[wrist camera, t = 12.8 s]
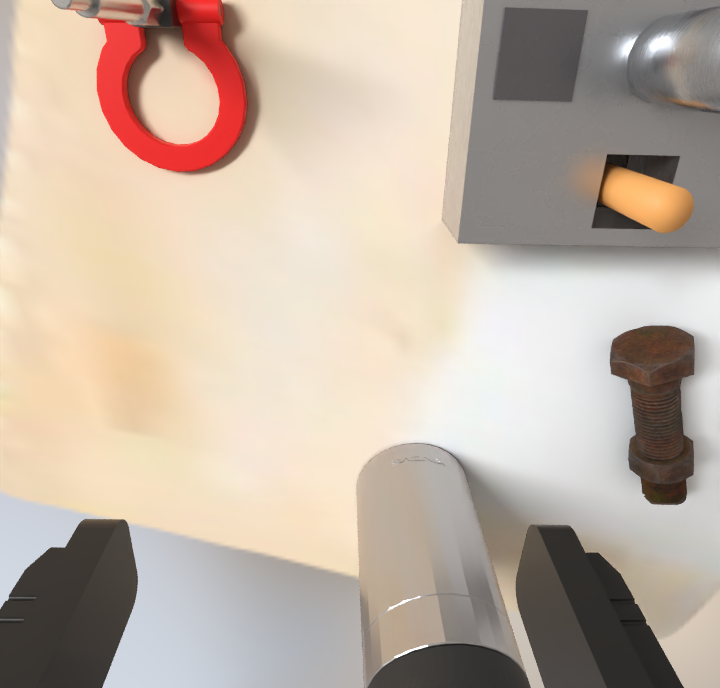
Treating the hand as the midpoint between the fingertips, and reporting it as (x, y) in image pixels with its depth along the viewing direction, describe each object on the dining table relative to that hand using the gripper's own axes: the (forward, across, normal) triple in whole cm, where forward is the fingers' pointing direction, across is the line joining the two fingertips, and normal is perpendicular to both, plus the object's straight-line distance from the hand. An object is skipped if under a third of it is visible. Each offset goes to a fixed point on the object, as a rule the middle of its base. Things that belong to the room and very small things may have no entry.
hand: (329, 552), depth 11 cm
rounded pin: (+28, -16, -4) cm, 32 cm away
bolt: (+28, -25, +14) cm, 40 cm away
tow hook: (+28, +10, -7) cm, 31 cm away
